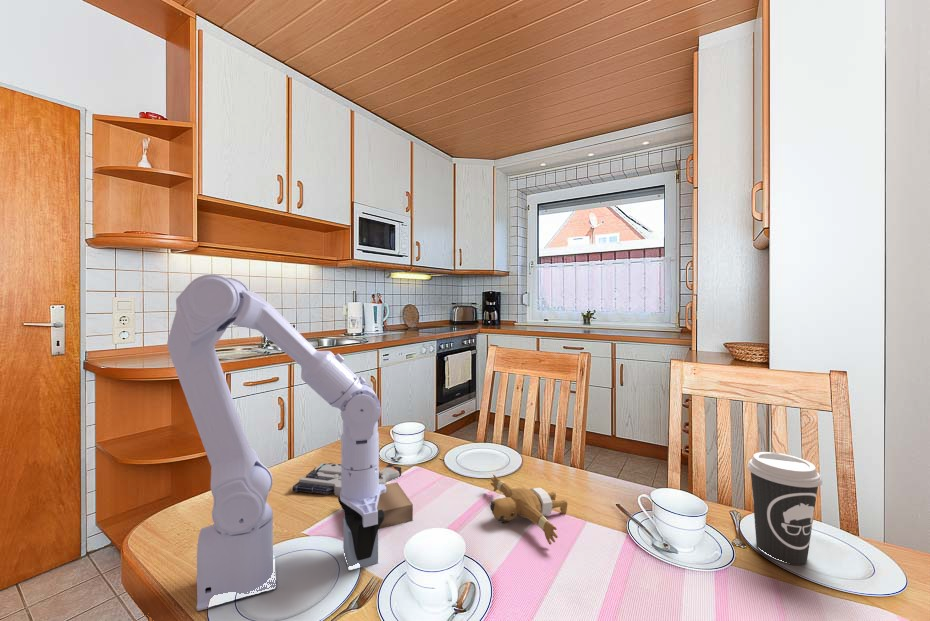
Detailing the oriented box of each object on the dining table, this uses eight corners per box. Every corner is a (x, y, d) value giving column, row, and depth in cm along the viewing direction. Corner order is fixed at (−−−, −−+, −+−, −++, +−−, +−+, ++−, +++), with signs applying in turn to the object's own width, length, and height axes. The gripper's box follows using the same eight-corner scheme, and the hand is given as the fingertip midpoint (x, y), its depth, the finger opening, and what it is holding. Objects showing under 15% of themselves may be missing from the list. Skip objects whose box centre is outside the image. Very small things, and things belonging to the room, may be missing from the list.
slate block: (348, 571, 61) (348, 532, 60) (343, 554, 65) (343, 517, 65) (378, 562, 63) (378, 524, 62) (371, 546, 67) (371, 511, 66)
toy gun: (404, 474, 96) (380, 507, 81) (328, 465, 99) (291, 495, 85) (405, 463, 96) (380, 494, 81) (328, 454, 99) (291, 482, 85)
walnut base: (357, 533, 70) (357, 516, 70) (347, 507, 79) (347, 492, 79) (412, 520, 75) (412, 504, 75) (397, 496, 84) (397, 482, 84)
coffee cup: (820, 550, 66) (823, 460, 66) (819, 581, 59) (822, 479, 59) (749, 528, 72) (751, 445, 72) (741, 553, 65) (743, 461, 65)
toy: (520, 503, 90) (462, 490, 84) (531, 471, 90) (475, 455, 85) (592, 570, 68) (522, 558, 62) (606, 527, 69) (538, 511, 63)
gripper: (398, 476, 58) (398, 568, 59) (374, 444, 72) (374, 519, 72) (348, 486, 55) (348, 583, 56) (333, 450, 68) (333, 529, 69)
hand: (360, 548), depth 64 cm, fingers closed on slate block, 4 cm apart
